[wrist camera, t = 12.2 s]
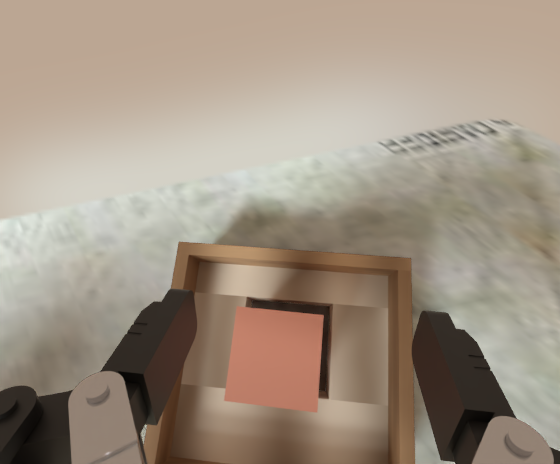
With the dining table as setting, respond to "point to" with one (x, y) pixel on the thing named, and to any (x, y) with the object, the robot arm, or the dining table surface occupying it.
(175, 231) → the dining table surface
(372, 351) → the box
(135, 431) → the robot arm
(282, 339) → the peg
